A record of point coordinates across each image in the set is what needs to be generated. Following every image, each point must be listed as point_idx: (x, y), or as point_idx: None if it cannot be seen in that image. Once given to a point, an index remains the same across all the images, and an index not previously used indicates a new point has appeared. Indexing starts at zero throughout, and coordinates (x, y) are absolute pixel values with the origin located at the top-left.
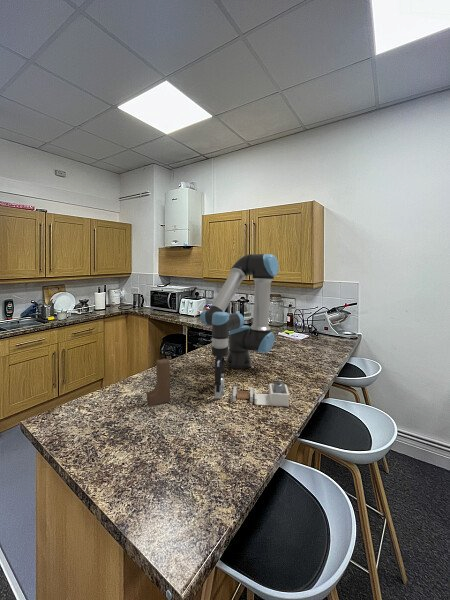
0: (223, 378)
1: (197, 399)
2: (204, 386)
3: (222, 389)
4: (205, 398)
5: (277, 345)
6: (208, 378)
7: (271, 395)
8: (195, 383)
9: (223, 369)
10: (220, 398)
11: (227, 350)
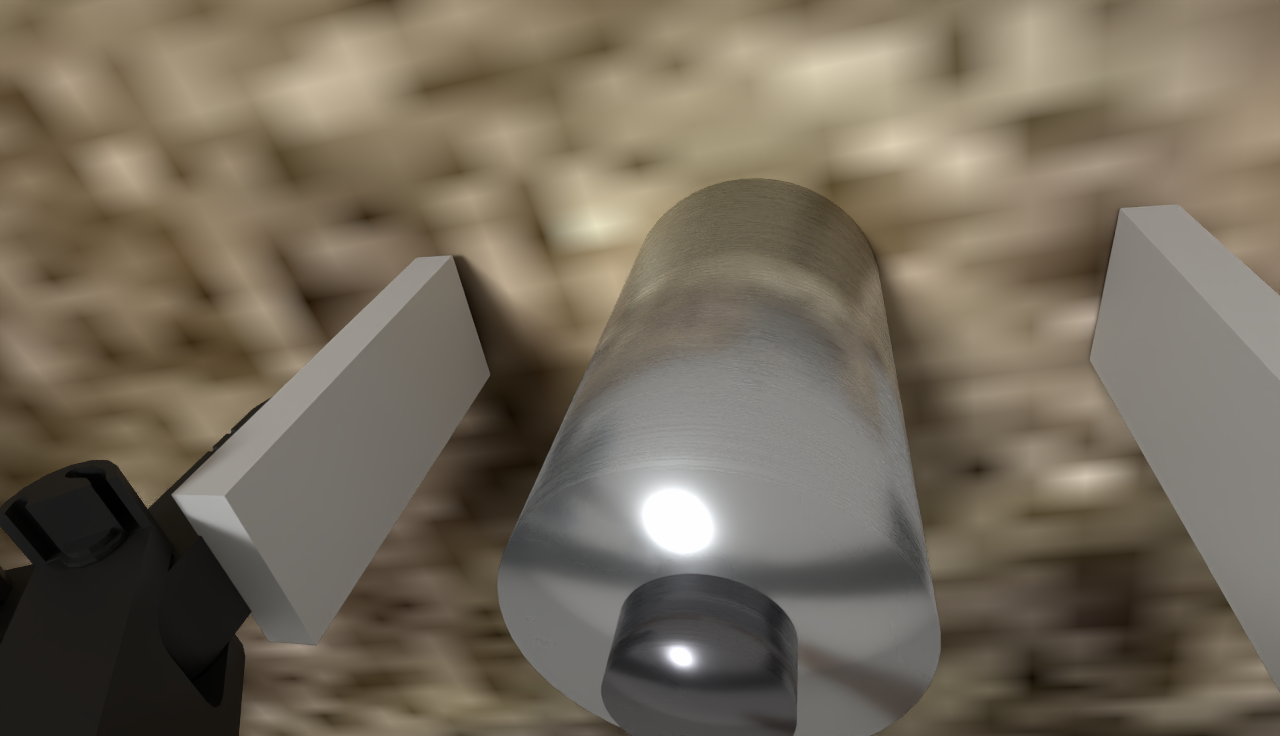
0: (742, 503)
1: (1133, 637)
2: None
3: (847, 276)
4: (1092, 526)
5: None
6: None
7: None
8: (500, 689)
9: (55, 696)
10: (1176, 220)
11: None
